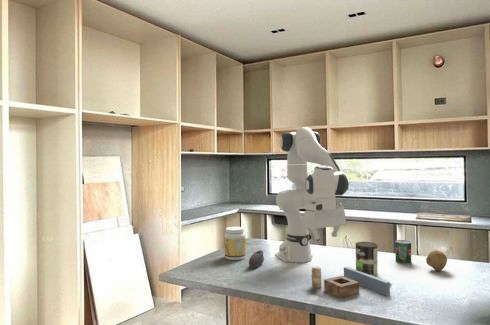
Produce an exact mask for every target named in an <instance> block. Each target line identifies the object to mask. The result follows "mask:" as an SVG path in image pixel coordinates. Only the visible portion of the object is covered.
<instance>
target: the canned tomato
mask: <svg viewBox="0 0 490 325" xmlns="http://www.w3.org/2000/svg"><path fill="white" fill-rule="evenodd" d="M394 242H395V243H394V244H395V252H394V253H395V262H396V264H401V265H402V264H403V265H411V264H412V262H413V261H412V241H410V240H405V239H396V240H395V241H394Z"/></svg>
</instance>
